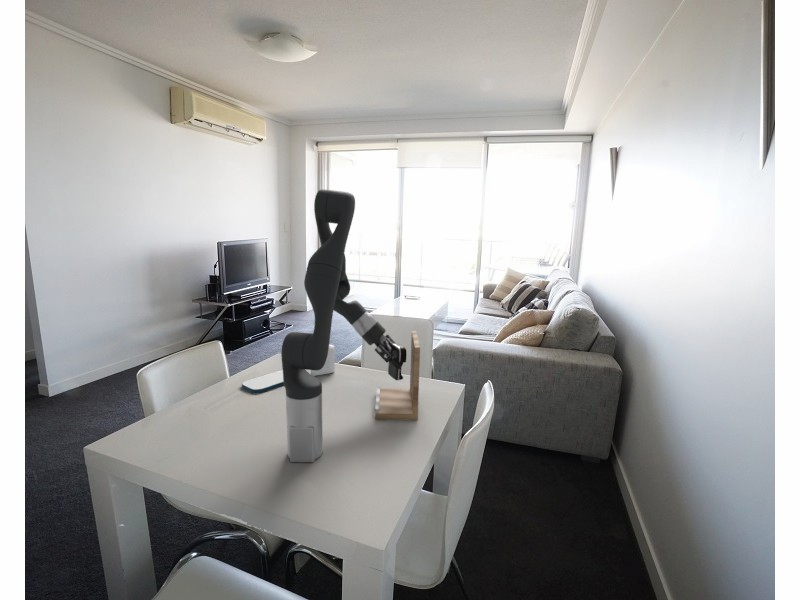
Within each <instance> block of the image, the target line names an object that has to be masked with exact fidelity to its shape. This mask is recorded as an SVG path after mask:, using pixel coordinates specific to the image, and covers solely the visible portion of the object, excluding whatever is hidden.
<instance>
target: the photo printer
mask: <svg viewBox="0 0 800 600" xmlns="http://www.w3.org/2000/svg"><path fill="white" fill-rule="evenodd" d="M335 358H336V350H335V345H333V344H330V343H329V350H328V356H327V359H326V362H325V365H324V366H323V368H322V369H320V370H310V374H311V375H313V376H314V377H317V376H321V375H322V376H323V375H328V374H333V373H335V370H336V365H335V363H336V362H335V361H336V359H335Z"/></svg>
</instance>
